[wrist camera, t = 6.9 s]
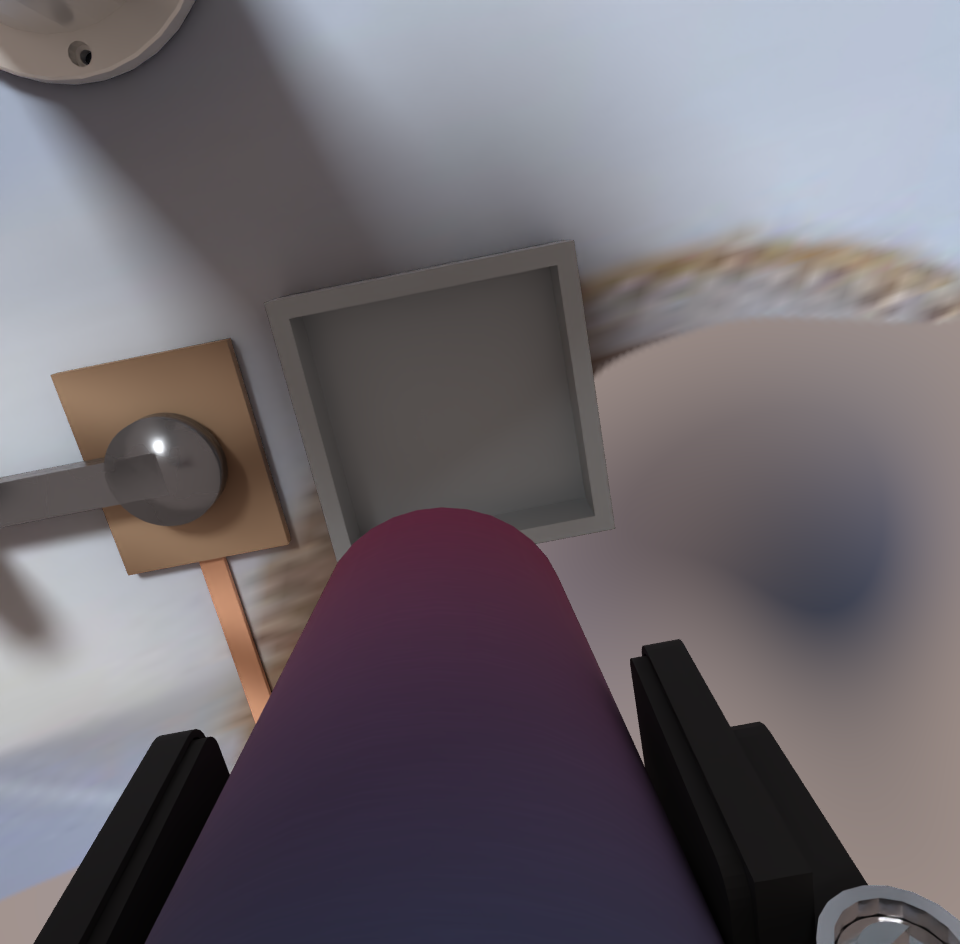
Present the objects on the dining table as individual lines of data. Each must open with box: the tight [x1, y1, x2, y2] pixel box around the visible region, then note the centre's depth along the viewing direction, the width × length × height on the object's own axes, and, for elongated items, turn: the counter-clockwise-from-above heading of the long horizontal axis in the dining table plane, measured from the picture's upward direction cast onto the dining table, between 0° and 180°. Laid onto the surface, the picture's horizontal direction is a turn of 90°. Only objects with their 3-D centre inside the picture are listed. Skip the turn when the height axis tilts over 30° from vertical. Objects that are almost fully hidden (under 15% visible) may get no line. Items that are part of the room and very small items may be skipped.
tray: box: [264, 240, 615, 563], centre depth 32 cm, size 13×13×3 cm
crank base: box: [51, 338, 291, 723], centre depth 35 cm, size 21×8×1 cm, turn 11°
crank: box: [0, 413, 228, 528], centre depth 29 cm, size 16×5×7 cm, turn 101°
